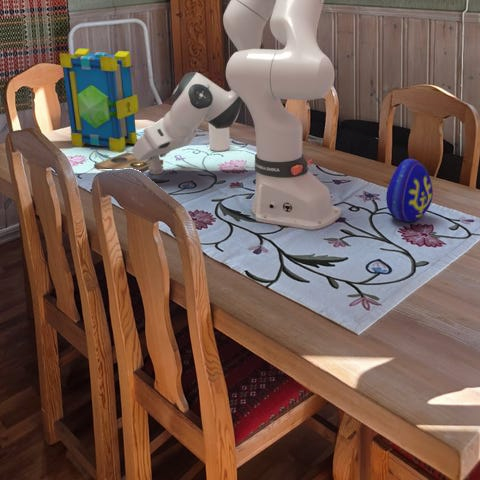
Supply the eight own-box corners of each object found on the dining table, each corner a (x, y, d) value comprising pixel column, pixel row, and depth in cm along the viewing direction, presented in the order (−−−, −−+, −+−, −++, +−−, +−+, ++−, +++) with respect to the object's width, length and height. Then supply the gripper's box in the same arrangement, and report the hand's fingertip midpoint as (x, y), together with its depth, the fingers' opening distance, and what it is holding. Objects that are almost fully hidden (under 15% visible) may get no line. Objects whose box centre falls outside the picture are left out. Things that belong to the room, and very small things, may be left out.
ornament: (405, 231, 158) (410, 169, 152) (376, 219, 165) (379, 159, 158) (436, 219, 164) (442, 159, 157) (407, 208, 170) (411, 149, 164)
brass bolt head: (145, 163, 204) (145, 162, 204) (138, 166, 202) (138, 165, 201) (138, 162, 205) (138, 161, 205) (131, 164, 203) (131, 163, 203)
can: (233, 147, 220) (232, 110, 215) (222, 152, 216) (221, 115, 211) (217, 144, 224) (215, 108, 219) (205, 150, 219) (203, 113, 214)
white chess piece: (161, 175, 198) (159, 148, 195) (146, 174, 199) (144, 148, 195) (165, 170, 202) (163, 144, 198) (151, 169, 203) (149, 143, 199)
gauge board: (163, 163, 207) (162, 159, 207) (130, 177, 197) (130, 172, 197) (127, 155, 215) (127, 152, 215) (94, 168, 205) (93, 164, 205)
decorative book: (119, 154, 217) (109, 58, 204) (63, 146, 227) (50, 53, 214) (145, 142, 228) (137, 50, 216) (90, 135, 238) (80, 46, 226)
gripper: (195, 113, 196) (174, 140, 206) (140, 128, 182) (120, 157, 193) (207, 131, 195) (185, 157, 205) (153, 148, 182) (132, 175, 192)
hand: (153, 157), depth 199 cm, fingers open, 4 cm apart
